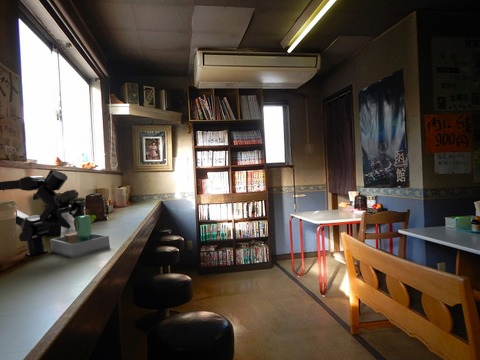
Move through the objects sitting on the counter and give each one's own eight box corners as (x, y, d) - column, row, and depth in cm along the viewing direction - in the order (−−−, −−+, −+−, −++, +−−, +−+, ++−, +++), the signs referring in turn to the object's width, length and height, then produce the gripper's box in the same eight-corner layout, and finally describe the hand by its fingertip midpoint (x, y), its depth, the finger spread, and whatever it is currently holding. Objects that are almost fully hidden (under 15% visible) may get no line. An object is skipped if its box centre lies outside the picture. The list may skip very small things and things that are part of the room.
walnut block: (65, 246, 122) (64, 235, 122) (78, 243, 126) (76, 232, 126) (70, 248, 119) (68, 236, 119) (82, 244, 123) (81, 233, 123)
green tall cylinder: (75, 250, 113) (72, 217, 112) (85, 247, 118) (81, 215, 117) (86, 250, 112) (83, 217, 111) (96, 247, 117) (92, 214, 116)
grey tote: (51, 251, 120) (50, 239, 120) (86, 242, 131) (85, 231, 131) (72, 258, 106) (71, 244, 106) (110, 248, 117) (108, 235, 117)
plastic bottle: (70, 243, 134) (65, 199, 133) (57, 243, 135) (52, 200, 134) (80, 239, 140) (76, 198, 139) (68, 239, 141) (64, 199, 141)
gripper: (42, 185, 106) (72, 214, 104) (79, 182, 124) (105, 206, 123) (26, 208, 107) (55, 236, 106) (65, 201, 126) (90, 225, 124)
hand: (78, 225), depth 115 cm, fingers open, 9 cm apart
